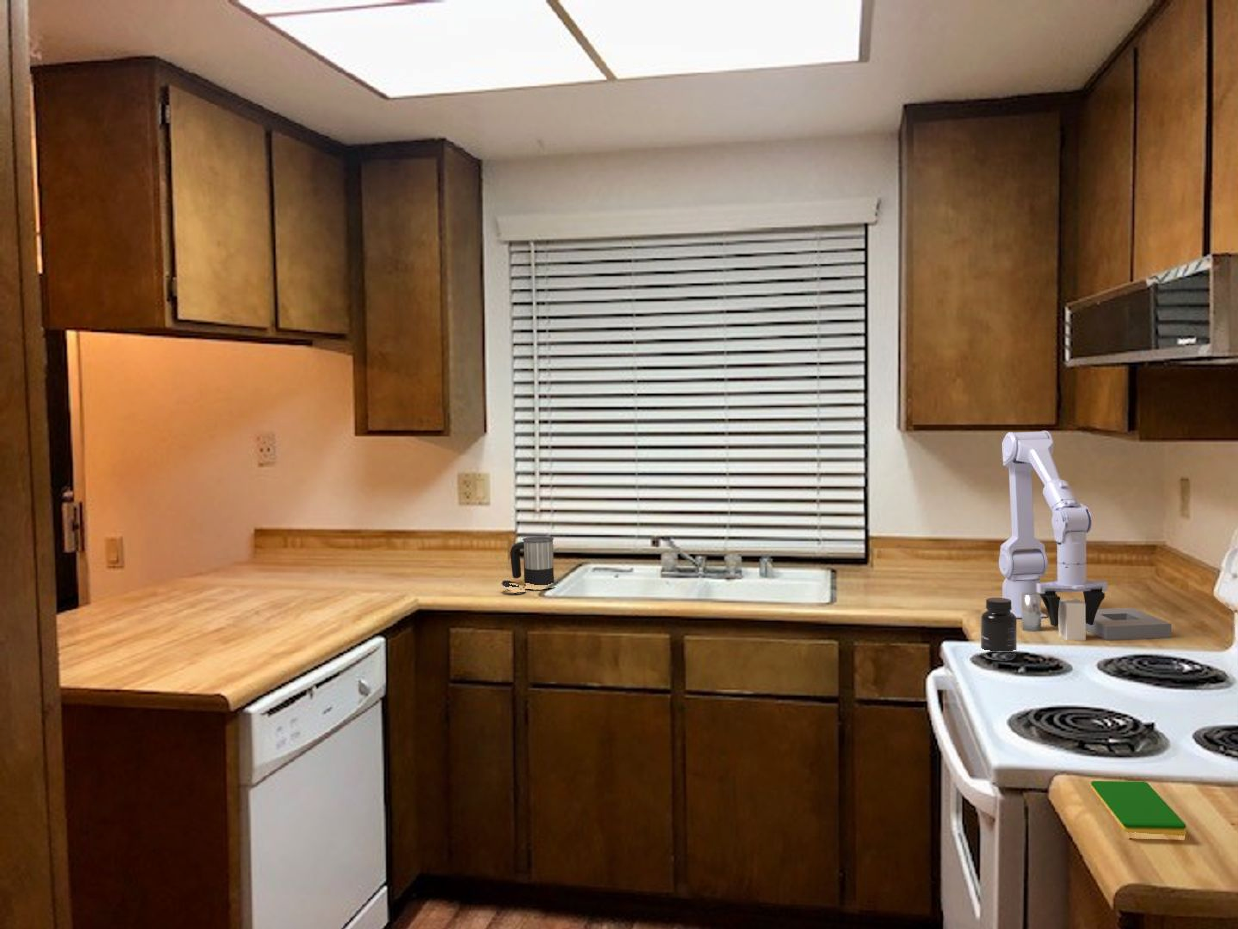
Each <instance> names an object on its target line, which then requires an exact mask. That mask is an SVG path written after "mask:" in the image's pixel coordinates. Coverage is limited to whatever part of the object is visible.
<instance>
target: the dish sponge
mask: <svg viewBox="0 0 1238 929" xmlns="http://www.w3.org/2000/svg"><path fill="white" fill-rule="evenodd" d="M1090 784H1091V786H1090V789H1091V788H1092V789H1093V791H1094V792H1095V793H1096V795H1097V796H1098V797H1099V798H1100V800H1101V801H1102V803H1104V805H1105V807H1106V808H1107V809H1108V810H1109V811H1110V813H1111V815H1112V816H1114V818H1115V820H1116V821H1117V822H1118V824H1119V825H1120V826H1121V828H1122V829H1123V831H1124V832H1125V831H1126V832H1128V833H1129V832H1130V833H1131V832H1132V833H1134V832H1136V833H1137V832H1138V833H1147V834H1148V833H1149V834H1165V835H1174V836H1175V835H1177V836H1179V835H1180V836H1181V835H1182V836H1184V835H1186V836H1187V829H1186V828H1187V824H1186V823H1185V822H1184V821H1183V820H1182V818H1180V817H1179V816H1178V814H1176V812H1175V811H1174V809H1172V807H1170V806H1169V805H1168V804H1167V802H1165V800H1164V799H1163V798H1162V797H1161V796H1160V795H1159V794H1158V793H1157V792H1156V790H1154V788H1153V787H1152V786H1151V785H1150V784H1149V782H1145V781H1132V780H1130V781H1127V780H1124V781H1122V780H1092V781H1090Z"/></svg>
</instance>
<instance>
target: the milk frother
mask: <svg viewBox="0 0 1238 929" xmlns="http://www.w3.org/2000/svg"><path fill="white" fill-rule="evenodd" d="M554 539H555V538H554V537H552V536H544V535H543V536H542V535H541V536H540V535H539V536H528V537H524V538H522V541H519V542H516V543H514V544H513V545H512V547H511V549H510V552H509V555H510V564H511V565H510V566H511V575H512V578H513V579H519V578H521V577H522V567H521V555H520V554H521V553H520V552H521V550H523V553H522V554H523V580H524V582H525V583H530V584H534V585H548V584H551V583H554V584H555V573H554V568H555V567H554ZM509 583H516V582H514V581H512V580H502V581H501V586H502V585H503V586H505V587H509V586H512V587H519V585H518V586H516V585H512V584H511V585H510V584H509ZM503 586H502V587H503Z"/></svg>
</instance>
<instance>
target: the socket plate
mask: <svg viewBox="0 0 1238 929" xmlns="http://www.w3.org/2000/svg"><path fill="white" fill-rule="evenodd" d="M1086 631H1087V632H1089V633H1091V634H1092V635H1095V636H1096V637H1098V638H1101V639H1103V640H1105V641H1120V640H1142V639H1143V640H1147V639H1166V638H1167V639H1168V638H1172V623H1171V622H1168V621H1166V620H1163V619H1161V618H1159V617H1155V616H1153V615H1151V614H1149V613H1146V612H1144V611H1141V610H1139V609H1136V608H1134V607H1119V608H1117V607H1116V608H1098V610H1097V613H1096V616H1095V619H1094V624H1093V625H1089V624H1087V623H1086Z"/></svg>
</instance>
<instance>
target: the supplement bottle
mask: <svg viewBox="0 0 1238 929" xmlns="http://www.w3.org/2000/svg"><path fill="white" fill-rule="evenodd" d="M985 609H986V610H985V611H984V612H982V614H981V616H980V649H981V648H982V649H984V650H990V651H1013V650H1017V648H1018V646H1017V643H1018V642H1017V641H1018V640H1017V639H1018V637H1017V634H1018V633H1017V632H1018V631H1017V628H1018V627H1017V624H1018V623H1017V622H1018V621H1017V619H1018V618H1016V616H1015V615H1014V614H1013V613H1011V612H1010V610H1012V607H1011V600H1010V599H1006V598H1002V597H988V598H987V599H986V600H985ZM1017 651H1018V650H1017Z"/></svg>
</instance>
